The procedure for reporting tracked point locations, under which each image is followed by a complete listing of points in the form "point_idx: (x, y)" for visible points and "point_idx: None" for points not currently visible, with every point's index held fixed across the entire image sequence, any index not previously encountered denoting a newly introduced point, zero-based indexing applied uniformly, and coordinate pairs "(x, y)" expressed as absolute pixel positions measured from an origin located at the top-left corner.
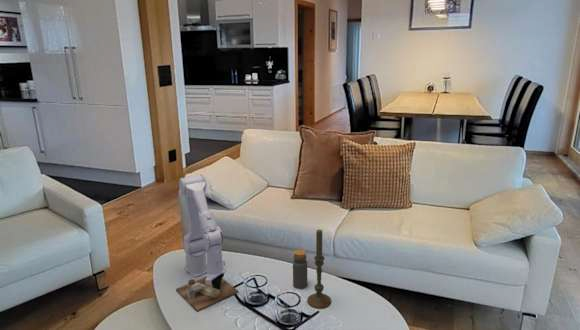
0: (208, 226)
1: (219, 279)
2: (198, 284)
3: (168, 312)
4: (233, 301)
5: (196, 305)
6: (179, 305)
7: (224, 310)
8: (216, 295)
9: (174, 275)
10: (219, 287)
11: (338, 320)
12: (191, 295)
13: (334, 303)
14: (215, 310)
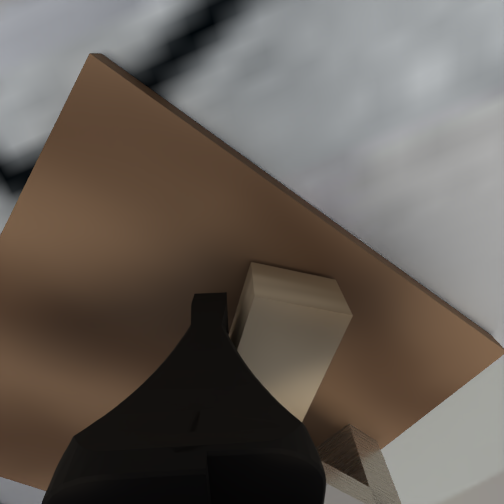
0: None
1: (312, 445)
2: None
3: (478, 478)
4: (298, 54)
5: (442, 378)
6: (402, 461)
7: (485, 99)
8: (317, 287)
9: None
10: (224, 320)
11: None
12: (383, 477)
13: None
14: (478, 199)
